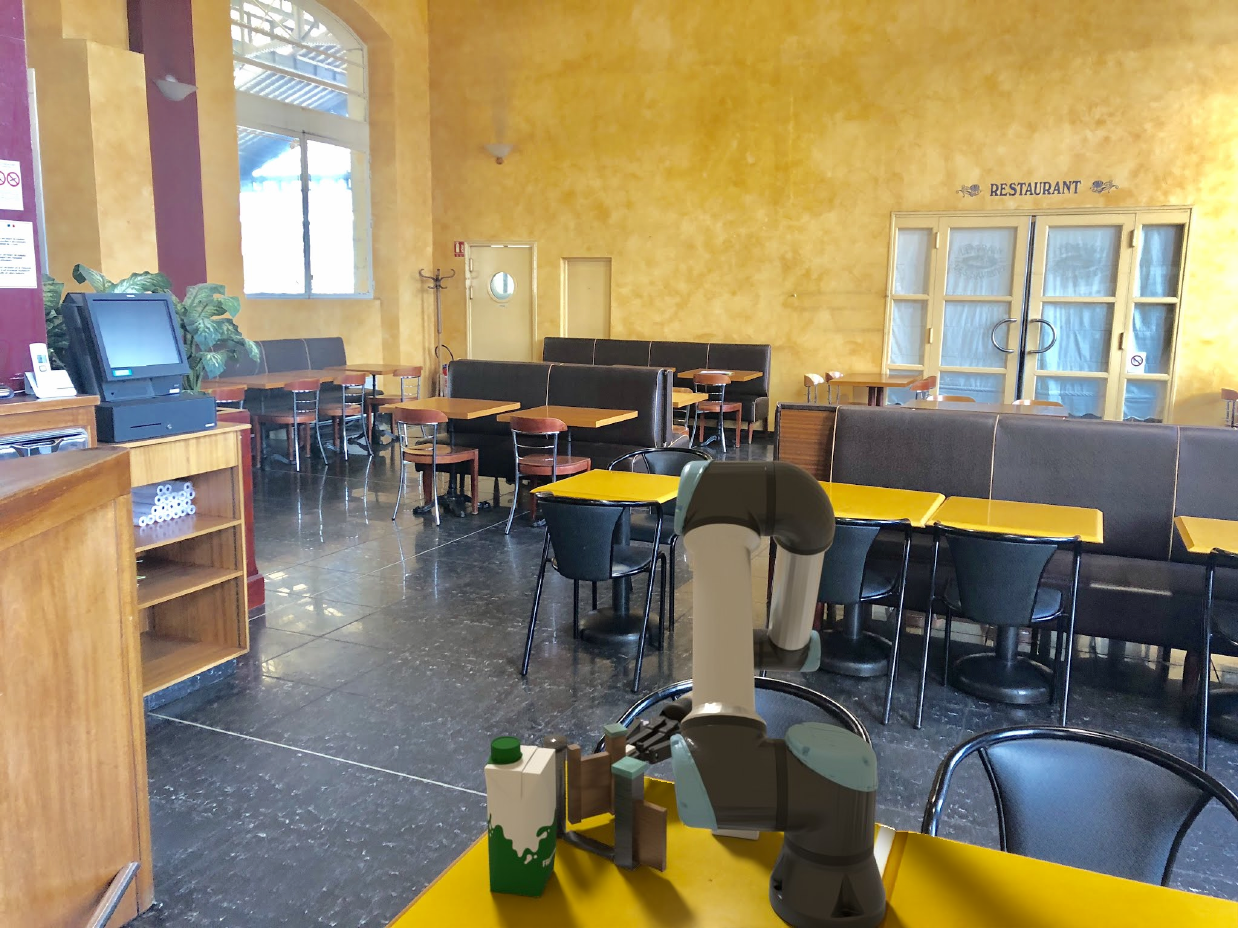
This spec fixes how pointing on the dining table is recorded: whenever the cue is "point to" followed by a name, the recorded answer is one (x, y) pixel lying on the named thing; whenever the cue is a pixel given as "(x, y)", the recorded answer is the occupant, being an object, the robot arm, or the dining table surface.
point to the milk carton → (520, 816)
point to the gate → (594, 776)
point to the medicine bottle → (737, 833)
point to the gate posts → (617, 815)
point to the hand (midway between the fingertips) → (607, 768)
